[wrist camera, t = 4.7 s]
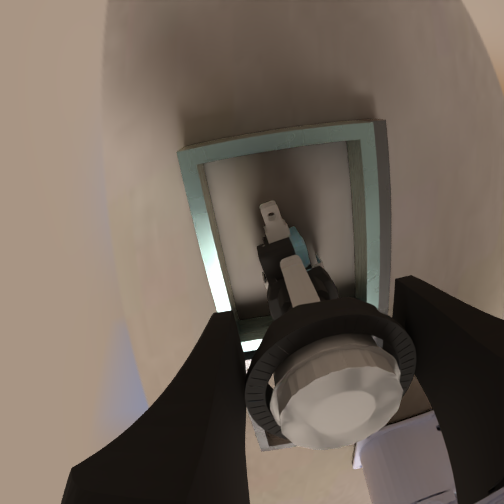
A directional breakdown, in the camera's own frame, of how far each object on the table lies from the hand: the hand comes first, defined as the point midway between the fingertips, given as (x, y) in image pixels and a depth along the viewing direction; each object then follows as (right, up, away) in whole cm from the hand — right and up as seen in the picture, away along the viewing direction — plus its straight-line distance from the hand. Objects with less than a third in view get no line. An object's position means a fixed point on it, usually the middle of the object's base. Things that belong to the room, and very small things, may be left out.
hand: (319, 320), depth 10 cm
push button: (0, +2, +7) cm, 7 cm away
